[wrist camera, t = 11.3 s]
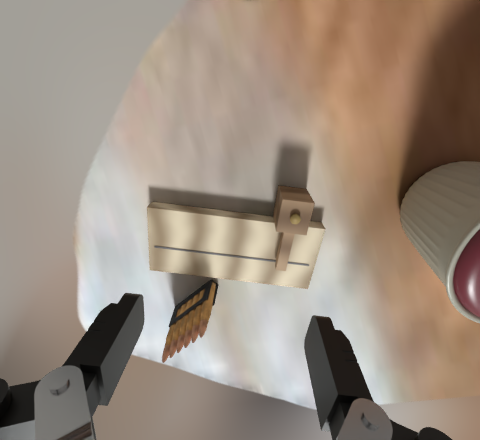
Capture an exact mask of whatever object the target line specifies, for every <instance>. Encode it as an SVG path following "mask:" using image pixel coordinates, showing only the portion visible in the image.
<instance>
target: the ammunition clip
mask: <svg viewBox="0 0 480 440" xmlns="http://www.w3.org/2000/svg"><path fill="white" fill-rule="evenodd" d="M217 289H218V284H217V283H215V282H214V281H213V280H210V281H208V282H207V283H206V284H204V285H203V286H202V287H201V288H199V289H198V290H197V291H195V292H194V293H193V294H191V295H190V296H189V297H187V298H186V299H185V300H184V301H182V302H181V303H180V304H178V305H177V306H176V307H175V309H174V312H173V315H172V318H171V321H170V324H169V327H170V329H169V332H168V335H167V338H166V344H165V348H164V351H163V356H162V361H163V363H164V362H165V361H166V360H167V358H168V356H169V355H170V358H171V357H172V356H173V355H174V353H175V352H176V349H177V353H179V352H180V351H181V349H182V347H183V345H184V347H185V348H186V347H187V346H188V345H189V343H190V341H191V338H192V343H194V342H195V340H196V339H197V337H198V334H199V335H200V337H202V336H203V335H204V333H205V331H206V328H207V324H208V320H209V318H210V315H211V310H212V306H213V305H214V304H215V299H216V294H217Z"/></svg>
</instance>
